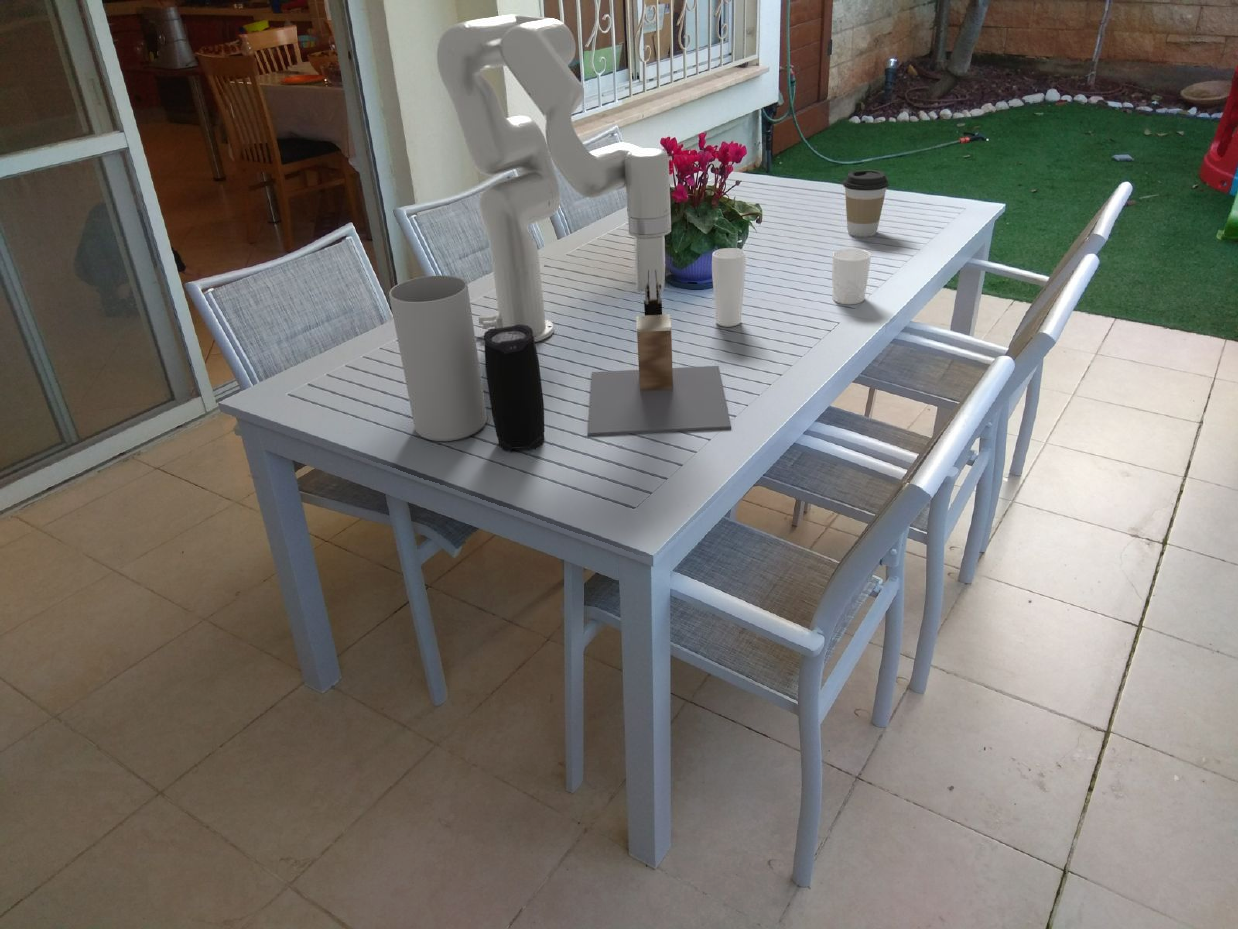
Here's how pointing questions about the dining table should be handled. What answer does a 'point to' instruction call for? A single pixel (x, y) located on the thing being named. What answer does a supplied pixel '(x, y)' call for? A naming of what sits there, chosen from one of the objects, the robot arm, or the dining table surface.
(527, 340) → the portable speaker
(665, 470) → the dining table surface
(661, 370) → the wooden box
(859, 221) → the coffee cup
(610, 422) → the rubber mat
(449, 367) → the cylinder vase
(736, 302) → the drinking glass
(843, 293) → the white cup
